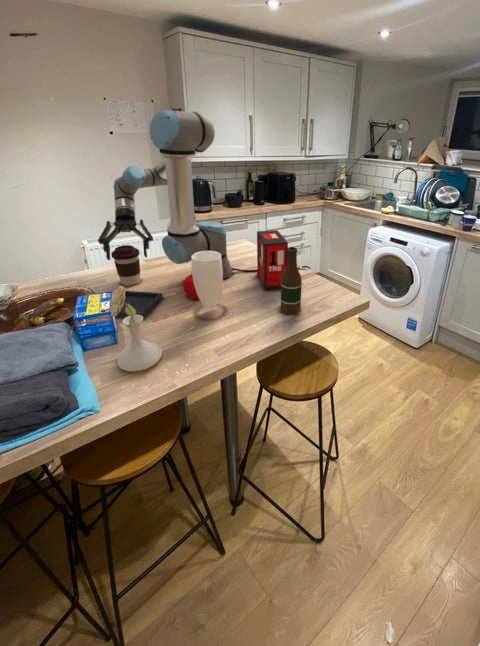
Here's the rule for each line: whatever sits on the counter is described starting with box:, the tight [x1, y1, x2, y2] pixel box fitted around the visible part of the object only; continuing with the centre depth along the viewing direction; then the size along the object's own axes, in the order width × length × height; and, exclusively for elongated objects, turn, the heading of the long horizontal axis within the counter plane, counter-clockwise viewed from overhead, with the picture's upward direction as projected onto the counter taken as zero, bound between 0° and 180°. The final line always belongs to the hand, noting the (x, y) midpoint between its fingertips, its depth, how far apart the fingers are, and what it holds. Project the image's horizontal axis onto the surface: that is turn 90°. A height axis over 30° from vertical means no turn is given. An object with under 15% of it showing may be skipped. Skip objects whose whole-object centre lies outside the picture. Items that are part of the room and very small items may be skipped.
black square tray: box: [114, 290, 164, 321], centre depth 119 cm, size 15×15×2 cm
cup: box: [190, 251, 224, 309], centre depth 114 cm, size 10×10×22 cm
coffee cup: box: [110, 244, 141, 287], centre depth 134 cm, size 10×10×15 cm
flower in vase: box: [109, 285, 163, 372], centre depth 88 cm, size 13×11×25 cm
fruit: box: [182, 272, 199, 300], centre depth 127 cm, size 9×9×10 cm
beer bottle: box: [280, 246, 302, 316], centre depth 118 cm, size 8×8×24 cm
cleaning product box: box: [256, 229, 289, 291], centre depth 140 cm, size 16×9×20 cm, turn 18°
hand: (127, 257), depth 135 cm, fingers open, 13 cm apart
